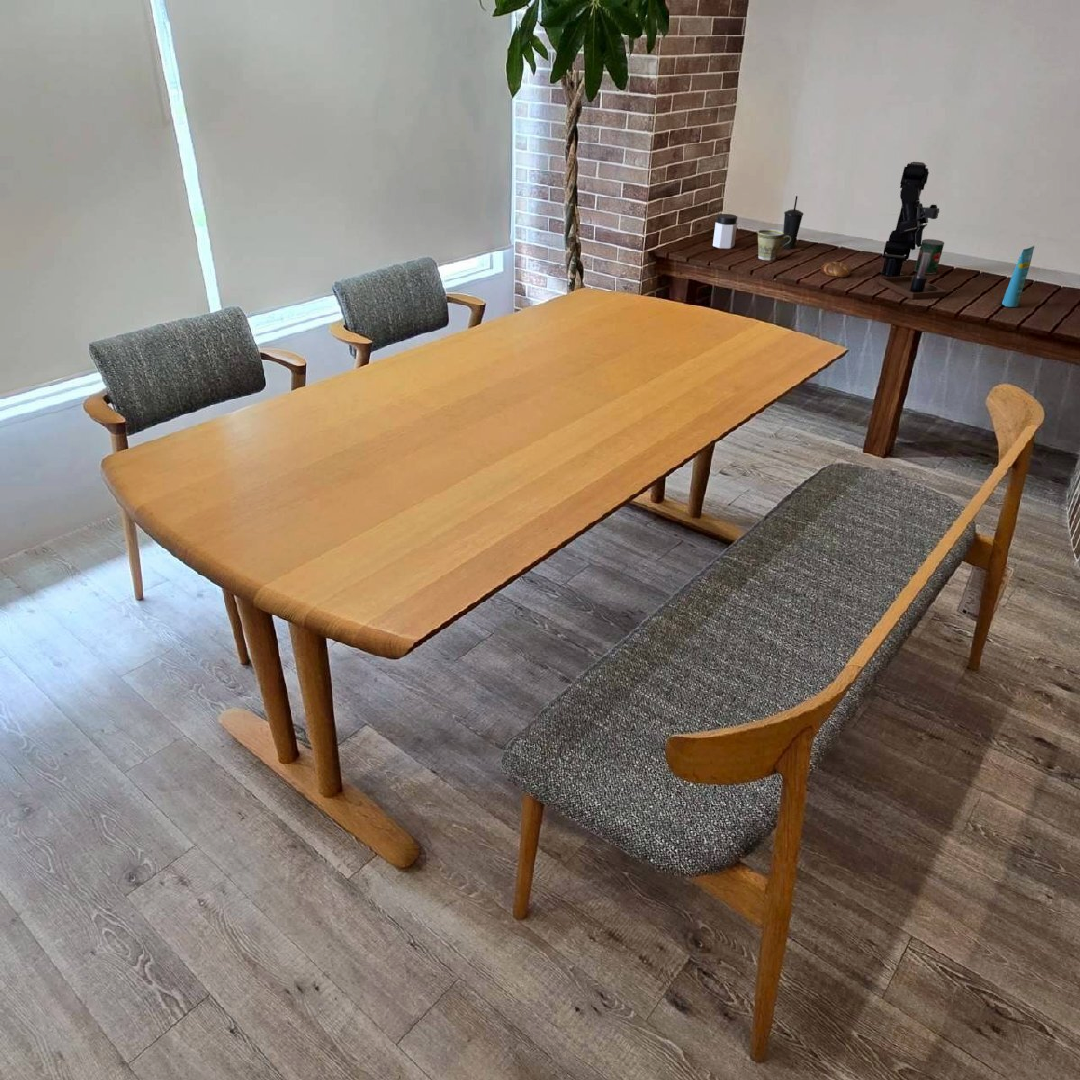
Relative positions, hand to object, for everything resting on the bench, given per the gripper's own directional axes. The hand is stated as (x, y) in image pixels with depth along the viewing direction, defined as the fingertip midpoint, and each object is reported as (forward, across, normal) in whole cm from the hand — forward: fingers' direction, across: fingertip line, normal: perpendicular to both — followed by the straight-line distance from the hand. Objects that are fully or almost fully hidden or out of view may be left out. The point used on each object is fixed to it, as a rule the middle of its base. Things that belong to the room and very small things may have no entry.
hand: (916, 248), depth 296 cm
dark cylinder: (+14, -7, 0) cm, 15 cm away
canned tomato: (+11, +24, +3) cm, 26 cm away
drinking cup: (-10, +27, +54) cm, 61 cm away
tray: (+13, -5, +2) cm, 14 cm away
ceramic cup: (-8, +5, +54) cm, 55 cm away
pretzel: (+3, -1, +28) cm, 29 cm away
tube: (+26, -3, -27) cm, 38 cm away
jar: (-18, +12, +76) cm, 78 cm away
